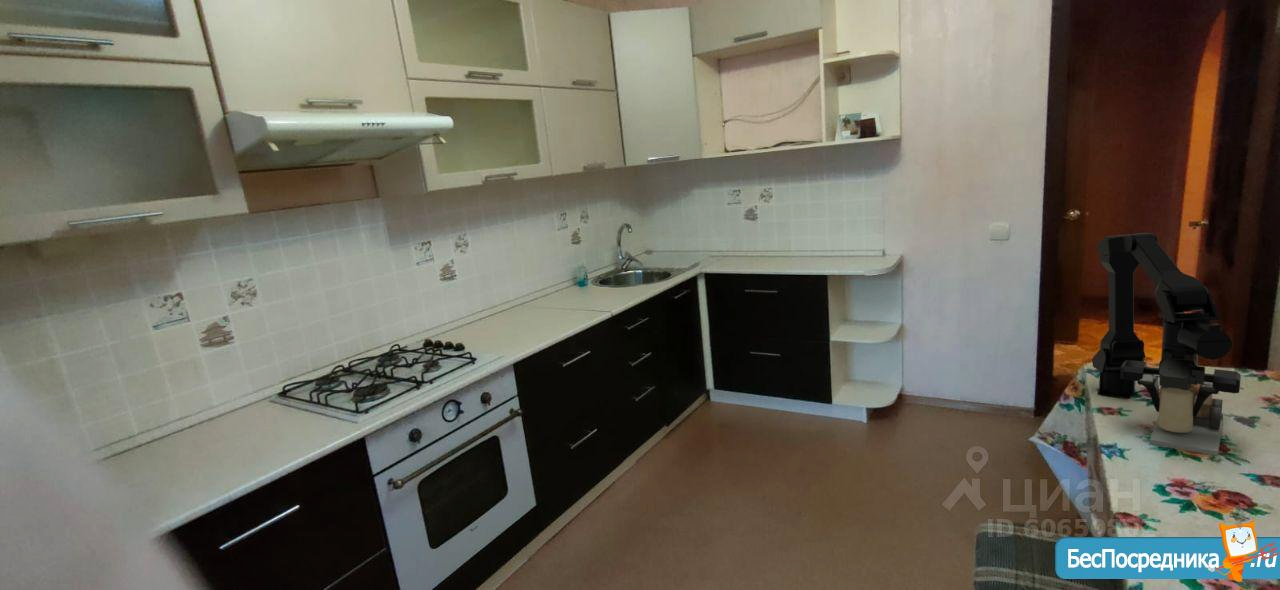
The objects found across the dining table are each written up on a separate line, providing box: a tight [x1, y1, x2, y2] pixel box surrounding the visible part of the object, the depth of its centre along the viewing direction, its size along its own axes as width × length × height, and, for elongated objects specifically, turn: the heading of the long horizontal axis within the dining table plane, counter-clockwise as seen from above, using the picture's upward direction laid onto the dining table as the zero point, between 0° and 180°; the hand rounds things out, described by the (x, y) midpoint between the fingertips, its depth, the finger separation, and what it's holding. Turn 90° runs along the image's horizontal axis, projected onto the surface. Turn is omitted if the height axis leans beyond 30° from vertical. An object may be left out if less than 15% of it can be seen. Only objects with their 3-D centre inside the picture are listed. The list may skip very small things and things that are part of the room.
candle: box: [1158, 386, 1195, 433], centre depth 131 cm, size 6×6×10 cm
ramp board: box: [1149, 412, 1224, 457], centre depth 133 cm, size 10×18×2 cm, turn 135°
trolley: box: [1194, 394, 1224, 429], centre depth 136 cm, size 9×9×5 cm
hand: (1175, 413), depth 132 cm, fingers closed on candle, 5 cm apart
